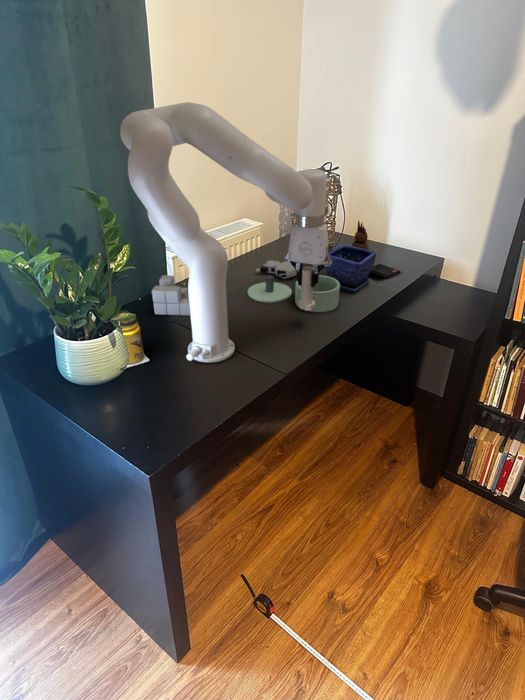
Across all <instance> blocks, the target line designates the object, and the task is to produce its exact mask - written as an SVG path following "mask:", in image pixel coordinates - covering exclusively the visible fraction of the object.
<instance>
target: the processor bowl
mask: <svg viewBox="0 0 525 700" xmlns="http://www.w3.org/2000/svg"><path fill="white" fill-rule="evenodd" d="M301 287H302V284H301V285H298V281H297V280H296V281H295V290H294V291H295V292H294V296H295V297H294V304H295V305H296V306H297V307H298V302H299V300H301ZM340 291H341V289H340V283H339V282H338V280H336V279H334V278H332V277H329V276H328V275H322V274H319V281H318V284H316V285H315V286H314V288H313V296H312V300H313V301H315V307H314V308H313V309H311V311H310V312H313V313H324V312H329V311H333V310H335V309H336V308H337V307H338V306H339V303H340V302H339V301H340Z"/></svg>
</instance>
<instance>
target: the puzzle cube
mask: <svg viewBox="0 0 525 700" xmlns="http://www.w3.org/2000/svg"><path fill="white" fill-rule="evenodd" d="M158 282H159V285H154V286H153V288H152V290H151V296H152V303H153V304H152V305H153V311H154V315H165V316H187V317H188V316H190V317H191V315H190V304H189V296H188V287H182V286H179V285H178V286H177V285H176V281H175V275H169V274H168V275H167V274H165V275H164V274H162V275H161V277H160V278H159V280H158Z"/></svg>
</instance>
